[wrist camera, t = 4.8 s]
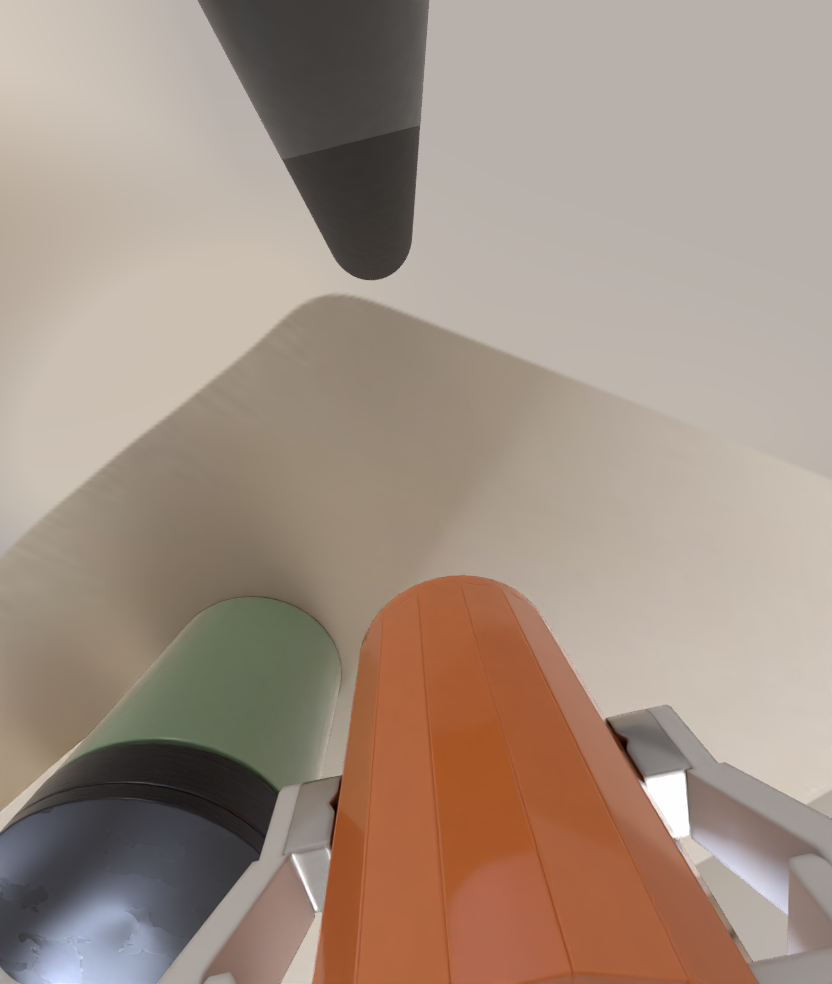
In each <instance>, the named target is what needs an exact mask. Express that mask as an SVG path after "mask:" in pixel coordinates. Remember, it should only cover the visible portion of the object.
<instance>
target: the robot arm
mask: <svg viewBox="0 0 832 984" xmlns="http://www.w3.org/2000/svg"><path fill="white" fill-rule="evenodd" d="M606 720H607V721H608V723H609V725H610V726H611V728H612V730H613V731H614V733H615V735H616V736H617V738H618V739H619V741H620V743H621V744H622V746H623V748H624V749H625V751H626V752H627V754H628V756H629V758H630V759H631V761H632V763H633V764H634V766H635V768H636V769H637V771H638V773H639V774H640V776H641V778H642V779H643V781H644V783H645V784H646V785H647V787H648V789H649V790H650V792H651V794H652V795H653V797H654V799H655V800H656V802H657V804H658V805H659V807H660V809H661V810H662V812H663V814H664V815H665V817H666V819H667V820H668V822H669V823H670V825H671V827H672V828H673V830H674V832H675V833H676V835H677V837H678V838H679V837H685V836H691V838H692V839H693V840H695V841H696V842H697V843H698V844H699V845H701V846H702V847H703V848H704V849H706V850H707V851H708V852H709V853H711V854H712V855H713V856H714V857H716V858H717V859H718V860H720V861H721V862H722V863H723V864H725V865H726V866H727V867H728V868H729V869H731V870H732V871H733V872H734V873H736V874H737V875H738V876H739V877H741V878H742V879H743V880H744V881H745V882H747V883H748V884H749V885H750V886H752V887H753V888H754V889H755V890H757V891H758V892H759V893H760V894H762V895H763V896H764V897H765V898H767V899H768V900H769V901H771V902H772V903H773V904H774V905H775V906H777V907H778V908H779V909H780V910H782V911H783V912H784V913H785V914H787V915H788V938H787V939H788V940H787V941H788V942H787V955H784V956H779V957H774V958H769V959H764V960H759V961H754V962H749V963H748V964H749V966H750V968H751V970H752V972H753V974H754V976H755V977H756V979H757V981H758V983H759V984H832V819H831V818H829V817H828V816H826V815H824V814H822V813H820V812H818V811H816V810H814V809H812V808H811V807H809V806H807V805H805V804H803V803H801V802H799V801H797V800H795V799H794V798H792V797H790V796H788V795H786V794H784V793H782V792H780V791H778V790H777V789H775V788H773V787H771V786H769V785H767V784H765V783H763V782H761V781H760V780H758V779H756V778H754V777H752V776H750V775H748V774H746V773H744V772H743V771H741V770H739V769H737V768H735V767H733V766H731V765H729V764H727V763H719V764H718V762H717V761H716V760H715V759H714V758H713V756H712V755H711V754H710V753H709V752H708V750H707V749H706V748H705V747H704V746H703V744H702V743H701V742H700V741H699V740H698V738H697V737H696V736H695V735H694V734H693V732H692V731H691V730H690V729H689V728H688V727H687V725H686V724H685V723H684V722H683V721H682V719H681V718H680V717H679V716H678V715H677V713H676V712H675V711H674V710H673V709H672V707H670V706H668V705H662V706H658V707H653V708H649V709H646V710H644V709H643V710H639V711H634V712H630V713H626V714H621V715H617V716H613V717H608V718H606ZM341 779H342V775H341V776H336V777H330V778H325V779H319V780H314V781H309V782H303V783H300V784H294V785H289V786H284V787H283V788H282V789H281V791H280V792H279V794H278V798H277V801H276V804H275V808H274V811H273V815H272V818H271V821H270V825H269V828H268V831H267V835H266V838H265V842H264V845H263V848H262V852H261V855H260V858H259V861H255V862H252V863H251V865H250V866H249V867H248V868H247V870H246V871H245V872H244V874H243V875H242V876H241V877H240V879H239V880H238V881H237V882H236V884H235V885H234V886H233V887H232V889H231V890H230V891H229V892H228V894H227V895H226V896H225V898H224V899H223V900H222V901H221V903H220V904H219V905H218V906H217V908H216V909H215V910H214V911H213V913H212V914H211V915H210V916H209V918H208V919H207V920H206V922H205V923H204V924H203V925H202V927H201V928H200V929H199V930H198V932H197V933H196V934H195V935H194V937H193V938H192V939H191V940H190V942H189V943H188V944H187V946H186V947H185V948H184V949H183V951H182V952H181V953H180V954H179V956H178V957H177V958H176V959H175V961H174V962H173V963H172V964H171V966H170V967H169V968H168V970H167V971H166V972H165V973H164V975H163V976H162V977H161V978H160V980H159V981H158V982H157V983H156V984H280V983H281V981H282V980H283V978H284V976H285V974H286V972H287V970H288V968H289V966H290V964H291V962H292V960H293V958H294V956H295V954H296V953H297V951H298V949H299V947H300V945H301V943H302V941H303V939H304V937H305V935H306V933H307V931H308V929H309V927H310V926H311V924H312V922H313V920H314V918H315V914H314V913H318V912H322V909H323V902H324V895H325V888H326V882H327V875H328V868H329V861H330V854H331V847H332V841H333V834H334V827H335V820H336V813H337V806H338V799H339V793H340V786H341Z"/></svg>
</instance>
